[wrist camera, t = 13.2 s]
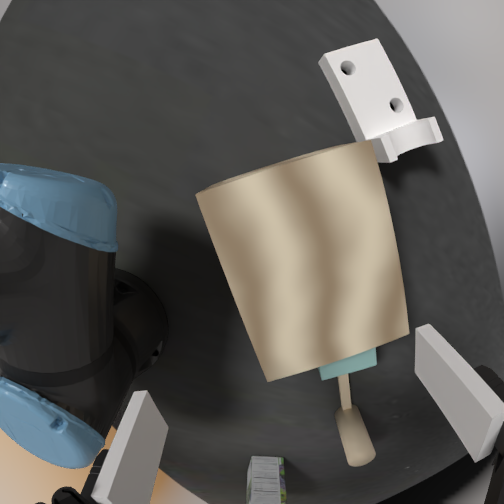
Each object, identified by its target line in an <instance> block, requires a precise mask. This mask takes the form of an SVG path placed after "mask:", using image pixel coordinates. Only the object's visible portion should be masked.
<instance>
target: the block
mask: <svg viewBox="0 0 504 504" xmlns="http://www.w3.org/2000/svg"><path fill="white" fill-rule="evenodd" d="M375 365H377V362H376V347H375V348H372V349H369V350H367V351H364V352H361V353H359V354H356V355H353V356H350V357H347V358H344V359H341V360H339V361H336V362H333V363H330V364H326V365H323V366H320V367H318V369H319V373H320V376H321V379H322V380H326V379H330V378H333V377H337V376H338V383H339V391H340V399H341V407H340V408H339V409H337V411H336V412H335V415H334V416H335V420H336V423H337V427H338V430H339V433H340V437H341V440H342V443H343V447H344V450H345V454H346V457H347V461H348V464H349V465H350V466H355V467H356V466H362V465H365V464H367V463H369V462H370V461H372V460H373V459H374V457H375V455H376V453H375V450H374V448H373V445H372V442H371V440H370V437H369V435H368V432H367V429H366V427H365V424H364V422H363V419H362V417H361V414H360V412H359V409H358V407H357V406H356V405H353V404H351V397H350V387H349V378H348V373H351V372H355V371H358V370H362V369H365V368H368V367H371V366H375Z"/></svg>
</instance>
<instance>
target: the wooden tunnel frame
mask: <svg viewBox="0 0 504 504" xmlns="http://www.w3.org/2000/svg"><path fill="white" fill-rule="evenodd" d="M195 195H196V198H197V201H198V203H199V206H200V209H201V212H202V214H203V217H204V220H205V223H206V225H207V228H208V231H209V233H210V236H211V239H212V241H213V244H214V247H215V250H216V252H217V255H218V257H219V260H220V263H221V265H222V268H223V271H224V273H225V276H226V279H227V281H228V284H229V286H230V289H231V292H232V294H233V297H234V299H235V302H236V304H237V307H238V309H239V312H240V315H241V317H242V320H243V322H244V325H245V327H246V330H247V332H248V335H249V337H250V340H251V342H252V345H253V347H254V350H255V352H256V355H257V357H258V360H259V362H260V364H261V367H262V369H263V372H264V374H265V377H266V379H267V381H268V382H269V381H273V380H277V379H280V378H284V377H287V376H291V375H294V374H298V373H301V372H304V371H308V370H311V369H314V368H317V367H320V366H323V365H326V364H330V363H333V362H336V361H339V360H341V359H344V358H347V357H350V356H353V355H356V354H359V353H361V352H364V351H367V350H369V349H372V348H375V347H377V346H380V345H383V344H385V343H388V342H390V341H393V340H395V339H398V338H400V337H403V336H405V335H407V334H409V326H408V317H407V308H406V300H405V293H404V286H403V279H402V273H401V267H400V261H399V255H398V249H397V244H396V239H395V234H394V229H393V224H392V219H391V215H390V210H389V206H388V202H387V197H386V193H385V189H384V185H383V181H382V177H381V173H380V170H379V166H378V162H377V159H376V155H375V152H374V148H373V145H372V142H371V140H367V141H361V142H355V143H350V144H344V145H339V146H333V147H330V148H326V149H322V150H319V151H316V152H312V153H309V154H305V155H302V156H299V157H295V158H292V159H289V160H285V161H282V162H279V163H276V164H273V165H270V166H266V167H263V168H260V169H257V170H254V171H251V172H248V173H245V174H242V175H239V176H236V177H233V178H230V179H227V180H225V181H222V182H219V183H216V184H213V185H211V186H210V187H208V188H206V189H204V190H203V191H201V192H199V193H197V194H195Z"/></svg>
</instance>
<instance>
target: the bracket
mask: <svg viewBox="0 0 504 504" xmlns="http://www.w3.org/2000/svg"><path fill="white" fill-rule="evenodd" d="M318 63H319V65H320V67H321V69H322V71H323V73H324V74H325V76H326V78H327V80H328V82H329V84H330V86H331V88H332V90H333V92H334V94H335V96H336V98H337V100H338V102H339V104H340V106H341V108H342V111H343V113H344V115H345V117H346V119H347V121H348V123H349V126H350V128H351V130H352V132H353V135H354V137H355V139H356V141H357V142H361V141H367V140H371V142H372V145H373V148H374V152H375V155H376V159H377V162H380V163H391V162H393V161H396V160H398V158H397V156H398V155H400V154H402V153H404V152H406V151H409V150H411V149H414V148H417V147H420V146H423V145H427V144H432V143H438V142H441V141H443V137H442V135H441V132H440V129H439V126H438V124H437V121H436V119H435V117H430V118H425V119H420V120H417V119H416V117H415V114H414V112H413V110H412V107H411V105H410V103H409V100H408V98H407V96H406V94H405V91H404V89H403V87H402V85H401V83H400V81H399V79H398V77H397V74H396V72H395V70H394V68H393V66H392V64H391V63H390V61H389V59H388V57H387V55H386V53H385V51H384V49H383V47H382V46H381V44H380V42H379V40H378V39H374V40H370V41H366V42H363V43H359V44H356V45H352V46H349V47H345V48H342V49H339V50H335V51H332V52H329V53H326V54H324V55H323V56H322V58H321V59H320V61H319V62H318ZM341 69H343V70H345V71H346V73H347V75H346V74H344V73H343V72H342V71H341ZM390 103H392V105H393V106H394V111H393V110H392V109H391V107H390Z"/></svg>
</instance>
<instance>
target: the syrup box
mask: <svg viewBox="0 0 504 504" xmlns="http://www.w3.org/2000/svg"><path fill="white" fill-rule="evenodd" d="M246 504H287V500H286V486H285V473H284V459H283V457H266V456H252V457H251V460H250V464H249V468H248V472H247V497H246Z"/></svg>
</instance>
